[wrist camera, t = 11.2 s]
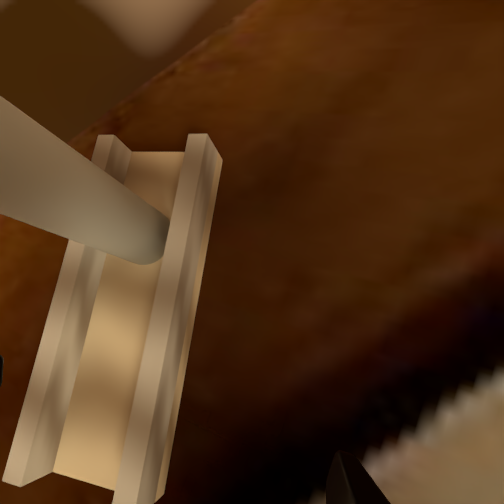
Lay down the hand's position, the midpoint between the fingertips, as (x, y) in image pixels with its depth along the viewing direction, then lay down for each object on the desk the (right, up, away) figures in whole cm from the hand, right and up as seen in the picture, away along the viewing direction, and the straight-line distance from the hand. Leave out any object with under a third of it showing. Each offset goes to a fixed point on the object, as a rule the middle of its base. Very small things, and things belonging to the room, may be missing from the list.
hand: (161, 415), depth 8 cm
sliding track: (-5, +1, +12) cm, 13 cm away
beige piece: (-4, +5, +12) cm, 14 cm away
